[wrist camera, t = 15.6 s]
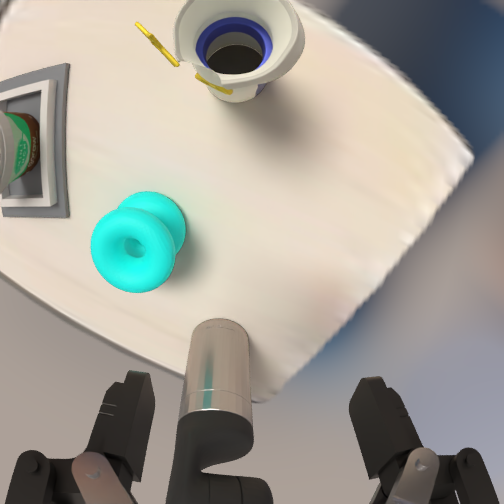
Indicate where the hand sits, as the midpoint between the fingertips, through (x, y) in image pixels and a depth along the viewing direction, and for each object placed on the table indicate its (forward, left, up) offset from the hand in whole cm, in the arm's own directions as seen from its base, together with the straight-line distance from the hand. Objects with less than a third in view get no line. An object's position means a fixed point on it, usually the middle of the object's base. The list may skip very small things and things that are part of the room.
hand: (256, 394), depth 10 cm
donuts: (-5, +12, -30) cm, 33 cm away
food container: (+7, +30, -29) cm, 43 cm away
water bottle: (+15, +2, -30) cm, 34 cm away
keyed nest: (+7, +32, -30) cm, 44 cm away
